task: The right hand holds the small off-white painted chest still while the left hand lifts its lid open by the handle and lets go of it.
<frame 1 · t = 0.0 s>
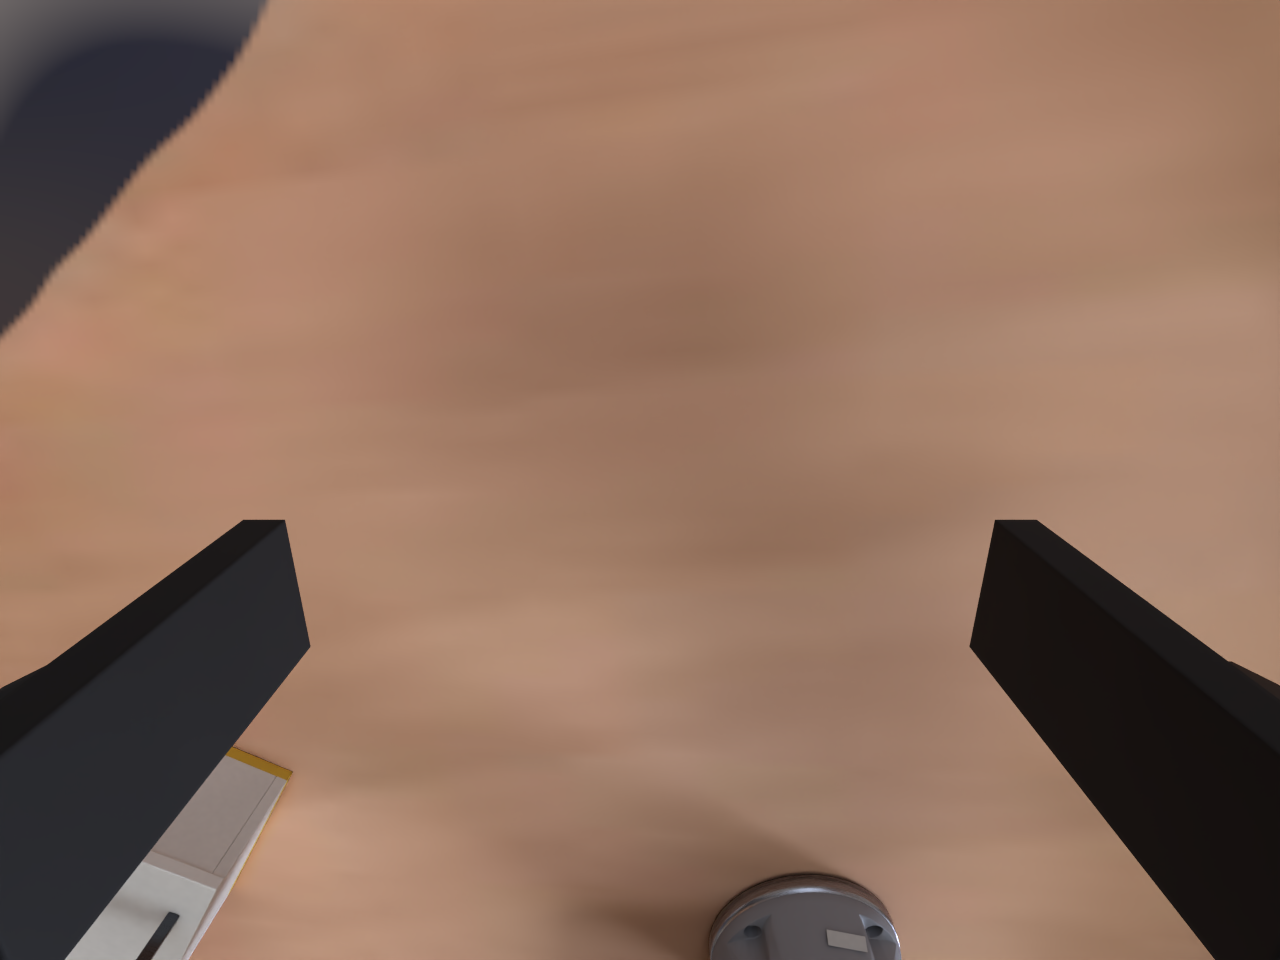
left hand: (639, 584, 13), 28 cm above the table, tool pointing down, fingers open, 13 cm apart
chest: (201, 808, 51), on the table
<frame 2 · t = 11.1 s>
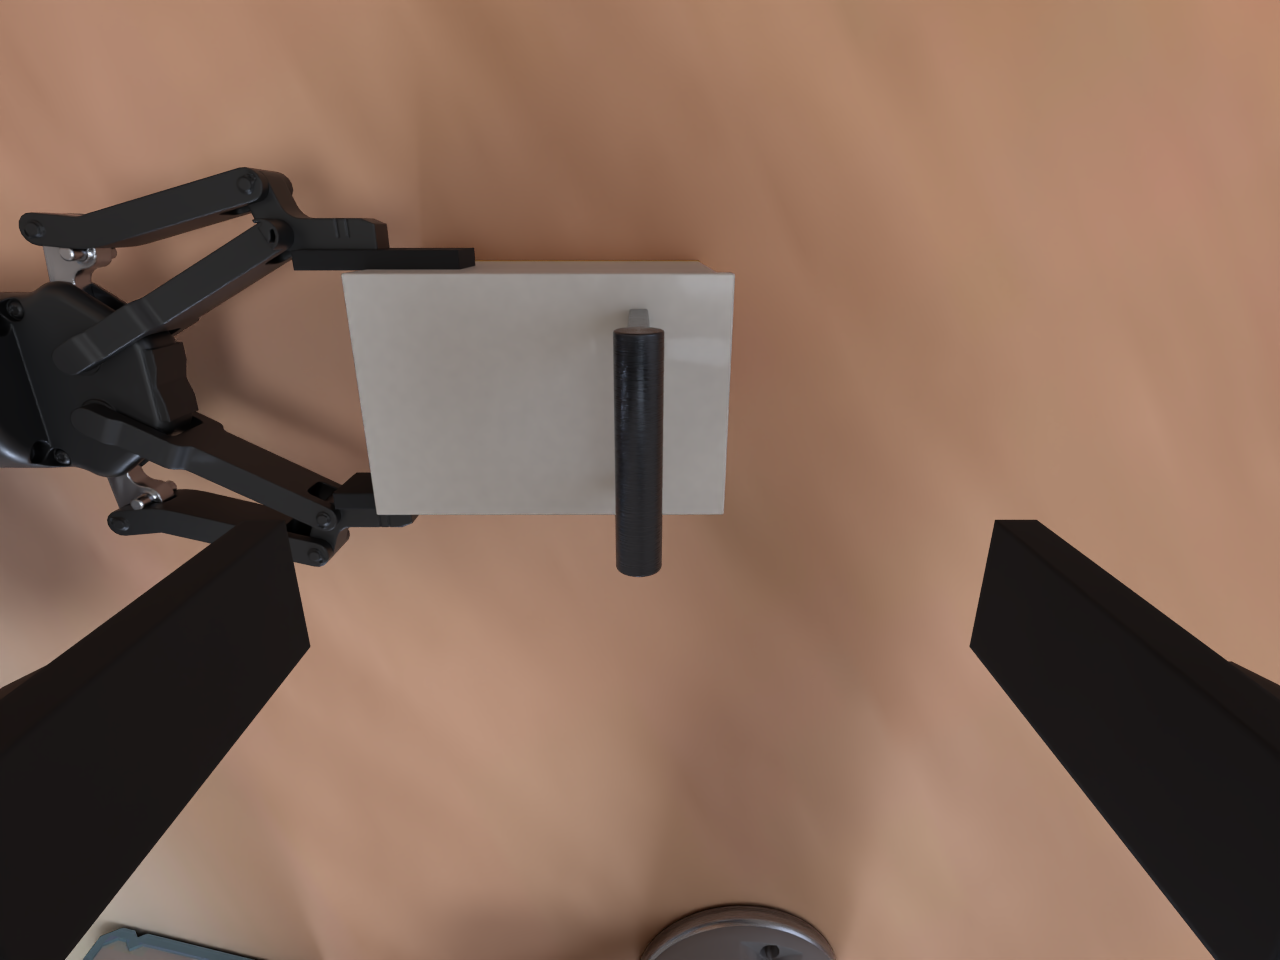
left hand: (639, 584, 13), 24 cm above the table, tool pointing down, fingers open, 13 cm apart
right hand: (477, 381, 29), fingers closed on chest, 9 cm apart
lid: (532, 424, 23), point 13 cm above the table, hinge at 0.0°
chest: (564, 355, 35), on the table, touching right hand
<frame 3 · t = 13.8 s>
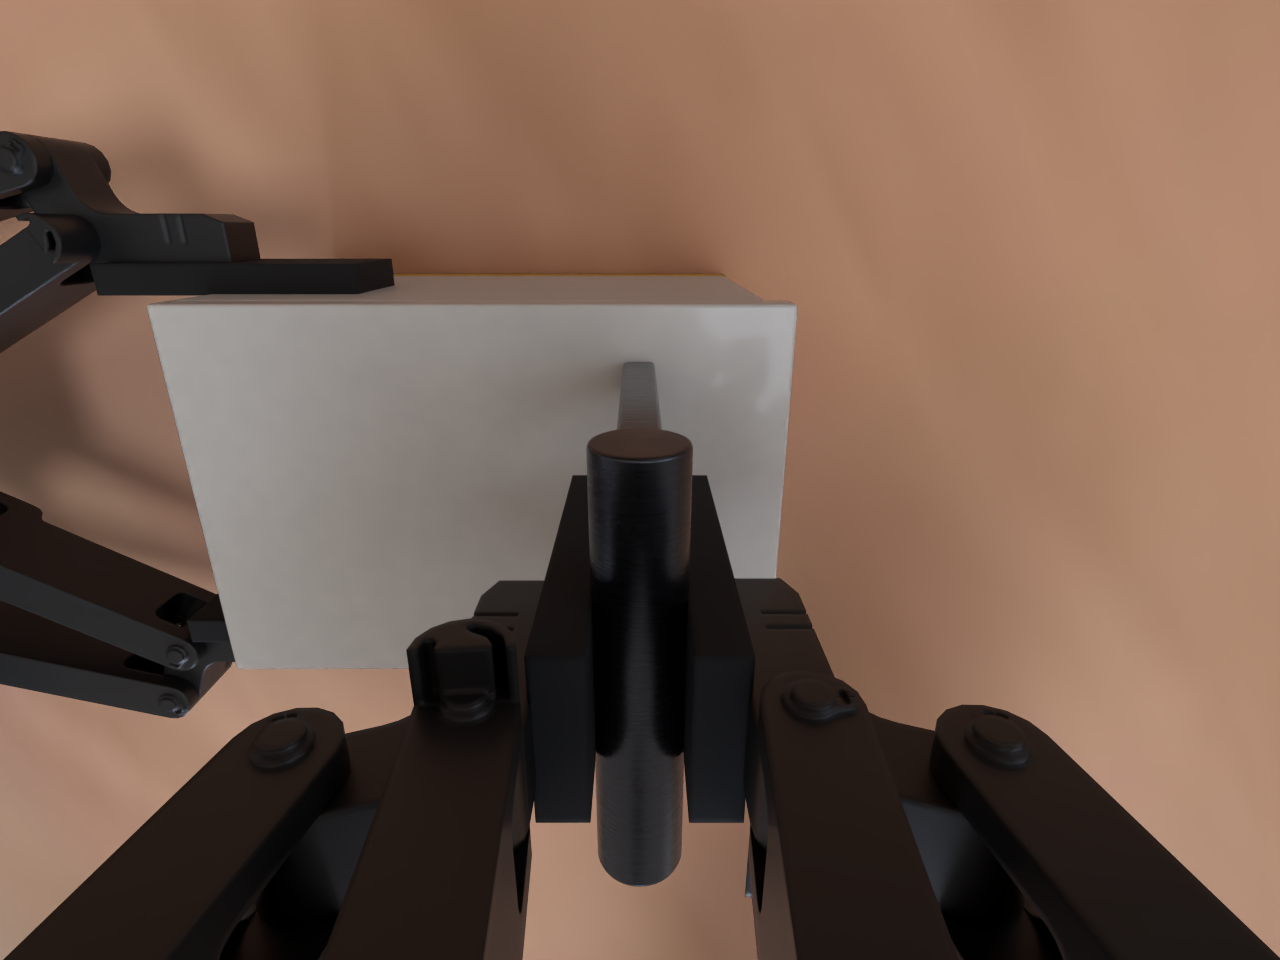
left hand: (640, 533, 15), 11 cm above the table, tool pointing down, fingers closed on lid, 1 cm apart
lid: (455, 568, 13), point 13 cm above the table, hinge at -0.1°, touching left hand
chest: (536, 404, 26), on the table, touching right hand
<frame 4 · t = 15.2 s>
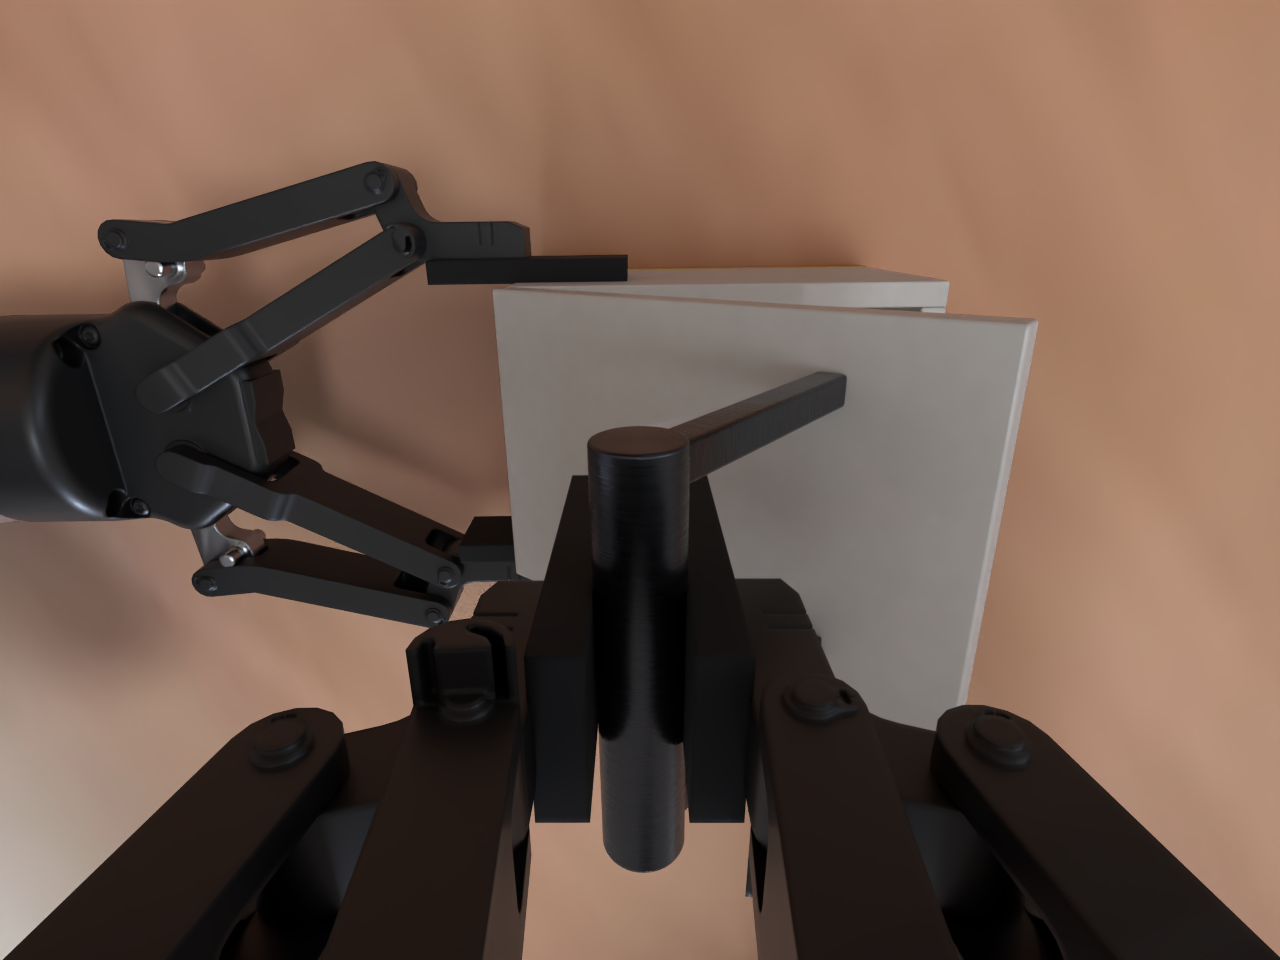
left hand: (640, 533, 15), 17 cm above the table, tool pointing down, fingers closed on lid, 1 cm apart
right hand: (629, 411, 25), fingers closed on chest, 9 cm apart
lid: (606, 532, 15), point 17 cm above the table, hinge at 38.8°, touching left hand
chest: (699, 376, 31), on the table, touching right hand
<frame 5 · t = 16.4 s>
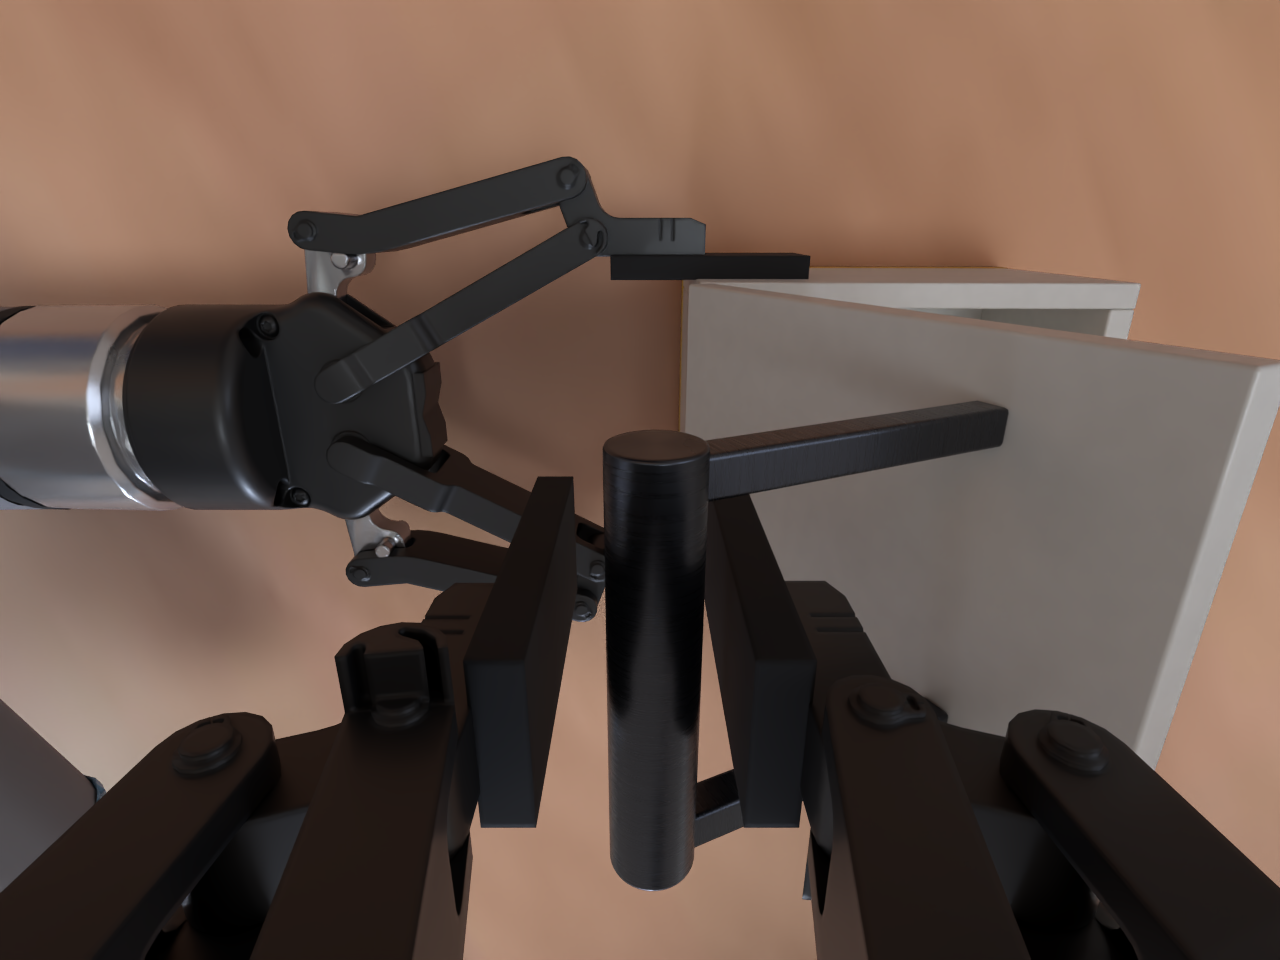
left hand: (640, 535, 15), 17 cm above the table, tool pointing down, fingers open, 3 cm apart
right hand: (788, 408, 25), fingers closed on chest, 9 cm apart
lid: (715, 539, 15), point 17 cm above the table, hinge at 64.2°
chest: (829, 375, 31), on the table, touching right hand
when the right hand's fingers open (6 cm above the table, at t = 20.3 s): chest stays where it is, on the table.
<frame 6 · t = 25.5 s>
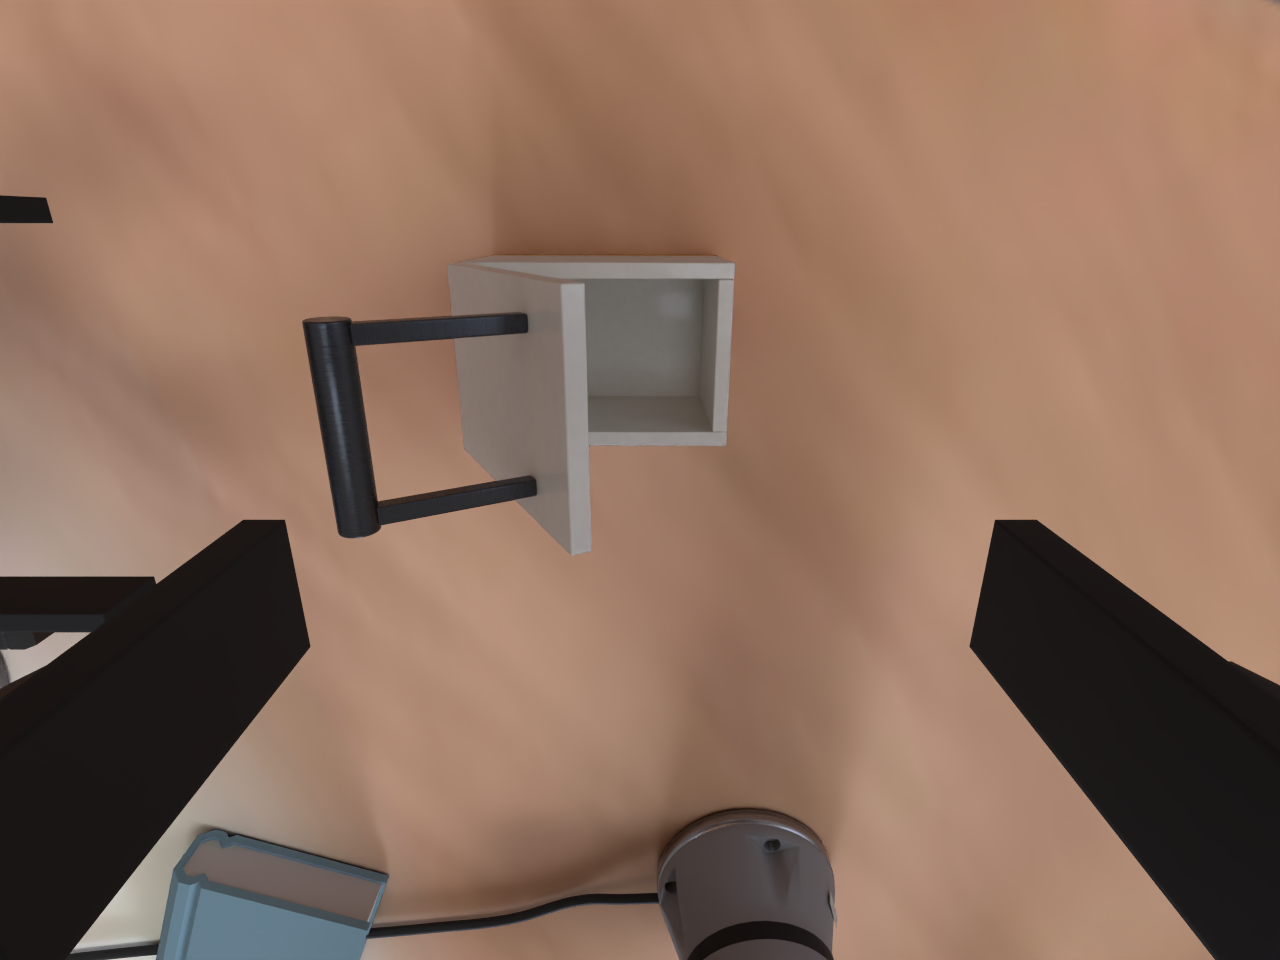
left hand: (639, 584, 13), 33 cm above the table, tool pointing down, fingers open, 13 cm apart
lid: (422, 396, 27), point 17 cm above the table, hinge at 61.1°
chest: (606, 332, 43), on the table
book: (275, 934, 63), on the table
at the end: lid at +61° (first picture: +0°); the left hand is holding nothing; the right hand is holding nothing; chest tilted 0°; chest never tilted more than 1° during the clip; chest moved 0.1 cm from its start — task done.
